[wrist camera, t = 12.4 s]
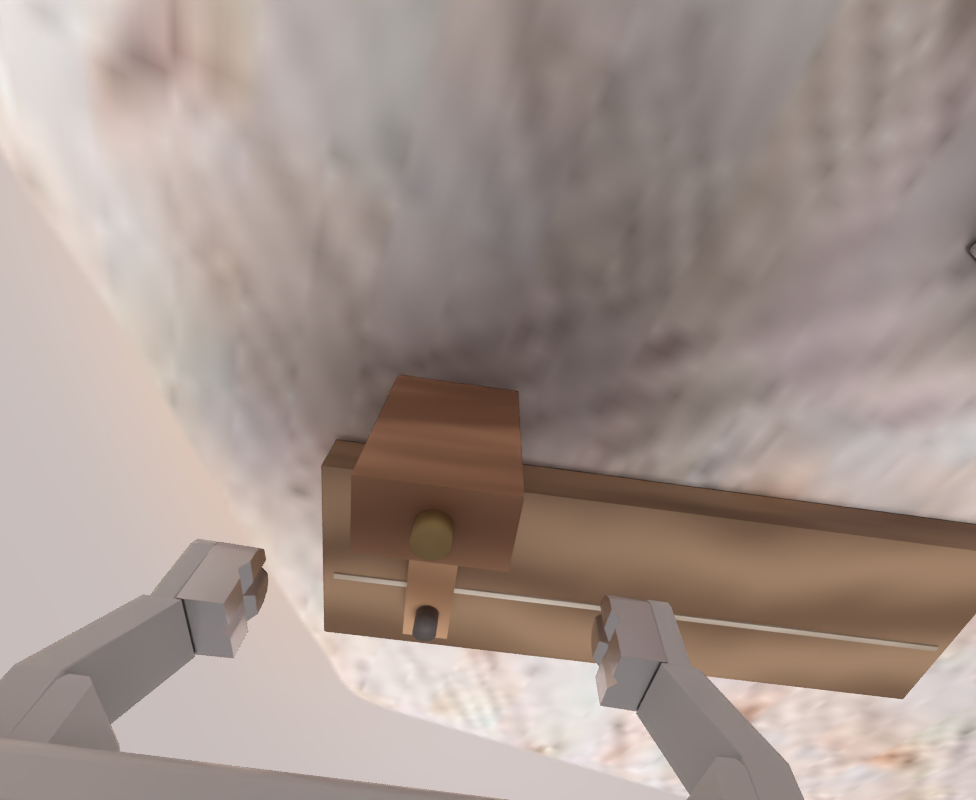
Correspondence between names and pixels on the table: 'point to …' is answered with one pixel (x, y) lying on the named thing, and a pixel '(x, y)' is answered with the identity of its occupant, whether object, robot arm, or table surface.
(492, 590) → the plank
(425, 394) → the wooden chest hasp
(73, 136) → the table surface
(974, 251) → the coffee box
